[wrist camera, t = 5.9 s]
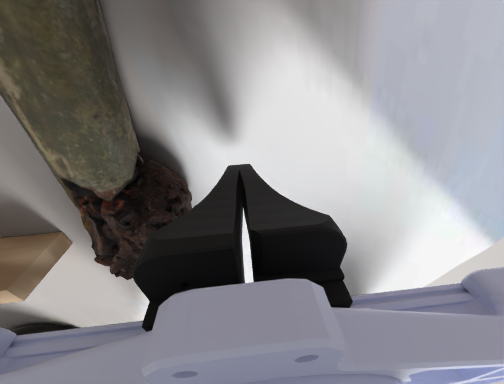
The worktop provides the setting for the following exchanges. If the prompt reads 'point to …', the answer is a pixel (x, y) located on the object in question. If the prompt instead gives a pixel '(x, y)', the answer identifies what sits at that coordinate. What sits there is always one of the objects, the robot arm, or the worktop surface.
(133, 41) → the worktop surface
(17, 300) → the light wooden open box
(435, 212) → the worktop surface
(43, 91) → the metal pipe
